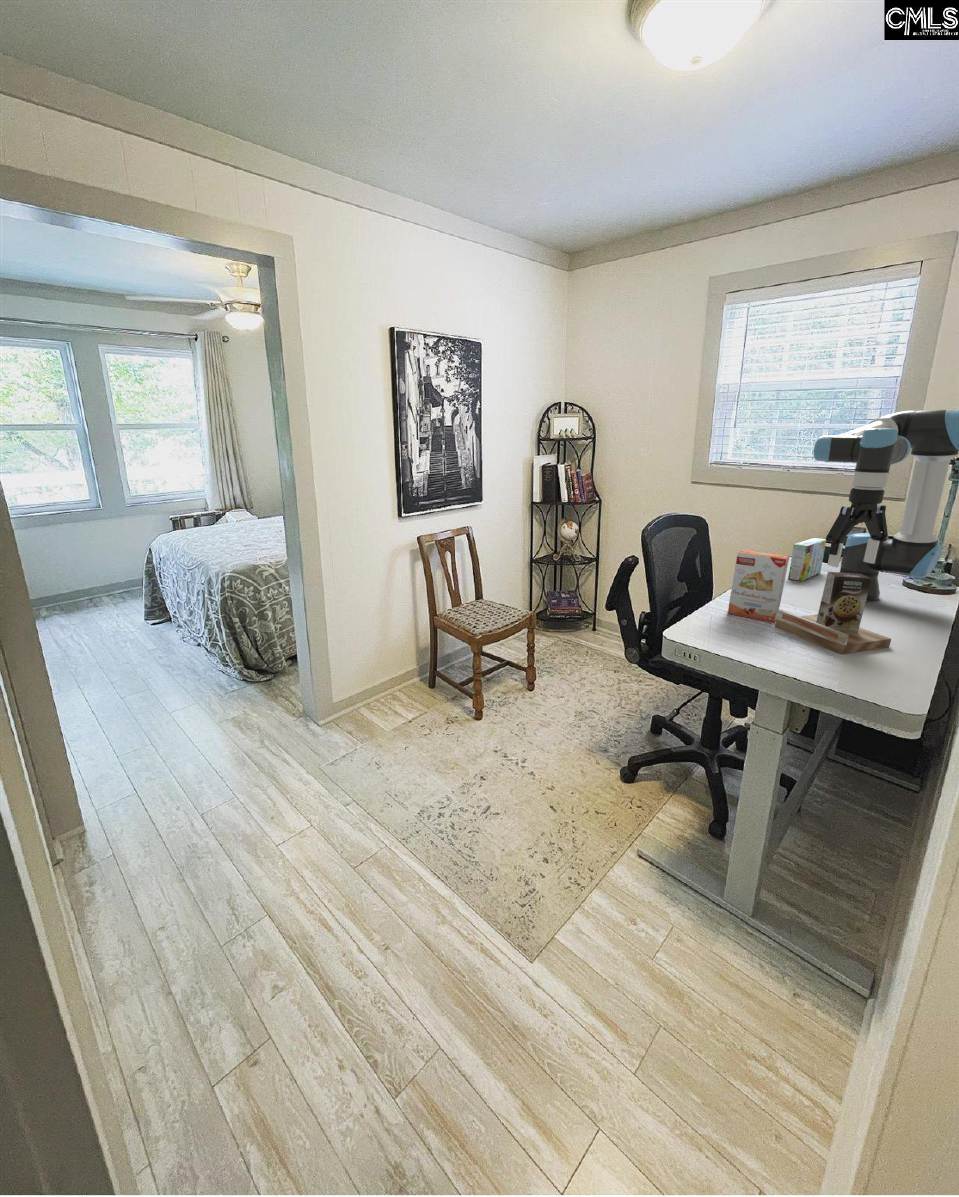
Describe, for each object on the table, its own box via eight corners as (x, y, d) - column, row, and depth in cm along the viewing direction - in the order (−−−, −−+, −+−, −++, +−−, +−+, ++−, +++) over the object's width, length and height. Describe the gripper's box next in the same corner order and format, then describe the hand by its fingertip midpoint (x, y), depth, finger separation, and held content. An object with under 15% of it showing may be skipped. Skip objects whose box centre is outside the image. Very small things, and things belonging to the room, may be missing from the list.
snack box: (806, 571, 230) (813, 537, 226) (820, 574, 226) (828, 539, 221) (786, 579, 217) (793, 543, 213) (801, 582, 213) (808, 545, 209)
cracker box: (726, 614, 173) (736, 551, 167) (731, 609, 177) (741, 548, 171) (774, 623, 165) (786, 558, 158) (777, 618, 169) (790, 555, 163)
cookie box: (824, 630, 152) (836, 576, 147) (815, 622, 158) (826, 570, 153) (859, 632, 150) (872, 578, 146) (849, 625, 156) (861, 572, 152)
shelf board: (819, 621, 167) (822, 604, 165) (889, 647, 147) (894, 628, 145) (774, 626, 162) (777, 610, 160) (840, 654, 142) (845, 635, 140)
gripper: (887, 485, 149) (870, 558, 156) (820, 488, 142) (805, 564, 148) (915, 487, 142) (896, 563, 149) (846, 491, 135) (829, 570, 142)
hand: (851, 564), depth 149 cm, fingers open, 13 cm apart
